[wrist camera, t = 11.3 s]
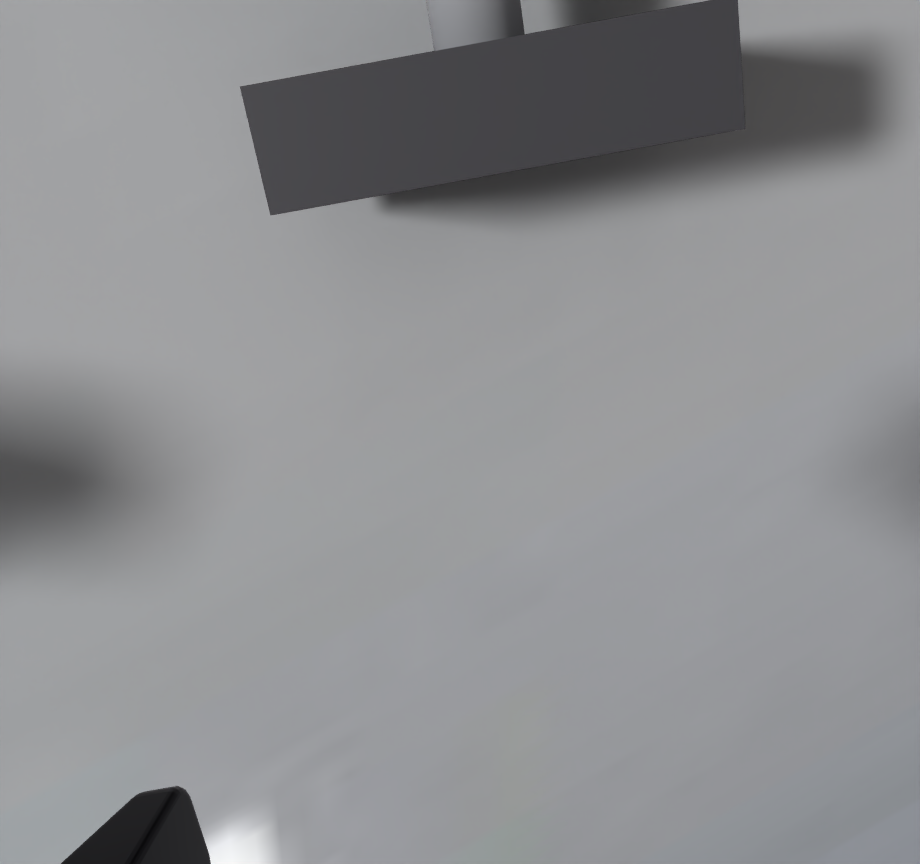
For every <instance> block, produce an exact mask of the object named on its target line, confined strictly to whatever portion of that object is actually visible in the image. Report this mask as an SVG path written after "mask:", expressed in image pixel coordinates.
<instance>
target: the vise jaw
mask: <svg viewBox="0 0 920 864" xmlns="http://www.w3.org/2000/svg"><path fill="white" fill-rule="evenodd" d="M426 4H427V10H428V16H429V22H430V27H431V33H432V39H433V45H434V51H432V52H426V53H421V54H416V55H410V56H405V57H399V58H394V59H388V60H383V61H377V62H372V63H367V64H361V65H356V66H350V67H345V68H339V69H334V70H328V71H323V72H318V73H312V74H307V75H301V76H296V77H290V78H285V79H279V80H274V81H269V82H263V83H258V84H252V85H247V86H241V87H240V89H241V93H242V97H243V101H244V105H245V110H246V114H247V118H248V122H249V127H250V131H251V135H252V139H253V143H254V148H255V152H256V156H257V160H258V164H259V169H260V173H261V177H262V181H263V185H264V190H265V194H266V198H267V202H268V206H269V211H270V215H275V214H281V213H287V212H292V211H298V210H303V209H309V208H314V207H320V206H325V205H331V204H336V203H341V202H347V201H352V200H358V199H363V198H369V197H374V196H380V195H385V194H391V193H396V192H402V191H407V190H413V189H418V188H424V187H429V186H435V185H440V184H445V183H451V182H456V181H462V180H467V179H473V178H478V177H484V176H489V175H495V174H500V173H506V172H511V171H517V170H522V169H528V168H533V167H539V166H544V165H549V164H555V163H560V162H566V161H571V160H577V159H582V158H588V157H593V156H599V155H604V154H610V153H615V152H621V151H626V150H632V149H637V148H643V147H648V146H653V145H659V144H664V143H670V142H675V141H681V140H686V139H692V138H697V137H703V136H708V135H713V134H719V133H724V132H730V131H735V130H741V129H745V112H744V96H743V80H742V64H741V47H740V31H739V15H738V0H709V1H704V2H699V3H693V4H688V5H682V6H677V7H671V8H666V9H660V10H655V11H650V12H644V13H639V14H633V15H628V16H622V17H617V18H611V19H606V20H601V21H595V22H590V23H584V24H579V25H573V26H568V27H562V28H557V29H552V30H546V31H541V32H535V33H530V34H524V26H523V19H522V12H521V4H520V0H426Z"/></svg>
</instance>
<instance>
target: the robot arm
mask: <svg viewBox="0 0 920 864" xmlns="http://www.w3.org/2000/svg"><path fill="white" fill-rule="evenodd" d="M61 864H211V863H210V857H209V853H208V849H207V846H206V843H205V840H204V837H203V834H202V831H201V828H200V825H199V822H198V819H197V816H196V813H195V810H194V807H193V804H192V801H191V798H190V796H189V794H188V793H187V791H186V790H185V789H183V788H181V787H179V786H174V787H169V788H163V789H157V790H151V791H146V792H142V793H139V794H137V795H136V796H135V797H133V798H132V799H131V800H130V801H129V802H128V803H127V804H125V805H124V806H123V807H122V808H121V809H120V810H119V811H118V812H117V813H116V814H115V815H113V816H112V817H111V818H110V819H109V820H108V821H107V822H106V823H105V824H104V825H103V826H101V827H100V828H99V829H98V830H97V831H96V832H95V833H94V834H93V835H92V836H91V837H89V838H88V839H87V840H86V841H85V842H84V843H83V844H82V845H81V846H80V847H79V848H77V849H76V850H75V851H74V852H73V853H72V854H71V855H70V856H69V857H68V858H67V859H65V860H64V861H63V862H62V863H61Z"/></svg>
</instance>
